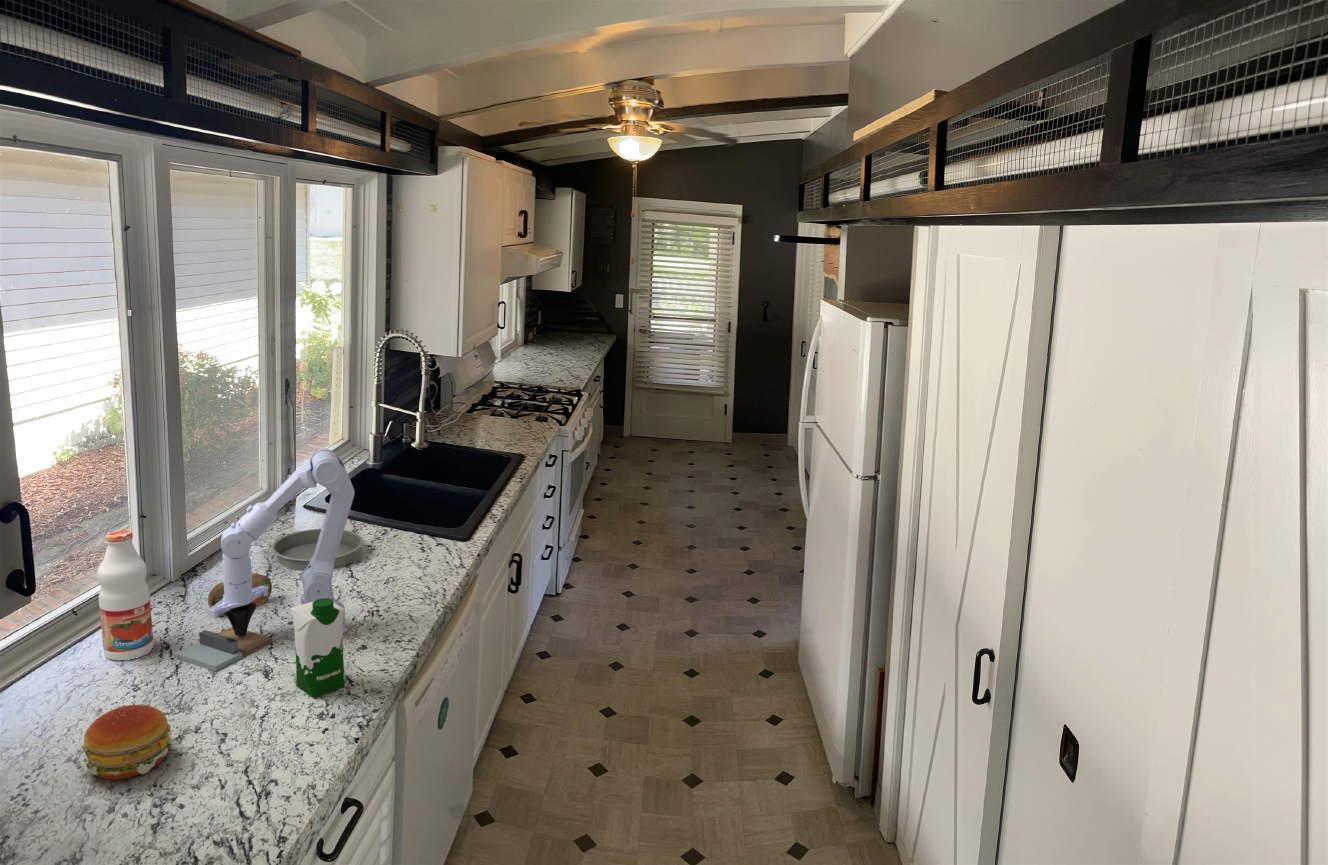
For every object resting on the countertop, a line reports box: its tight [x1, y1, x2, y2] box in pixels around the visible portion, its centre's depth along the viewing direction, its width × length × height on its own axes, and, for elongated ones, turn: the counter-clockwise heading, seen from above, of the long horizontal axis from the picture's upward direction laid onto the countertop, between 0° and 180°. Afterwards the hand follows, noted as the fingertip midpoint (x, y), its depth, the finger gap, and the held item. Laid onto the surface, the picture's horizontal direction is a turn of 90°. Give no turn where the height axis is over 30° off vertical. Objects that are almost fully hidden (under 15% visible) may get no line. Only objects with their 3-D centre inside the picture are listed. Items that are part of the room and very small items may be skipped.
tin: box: [207, 572, 273, 617], centre depth 211 cm, size 15×3×8 cm, turn 143°
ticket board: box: [218, 626, 273, 658], centre depth 195 cm, size 12×8×1 cm, turn 68°
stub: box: [174, 629, 244, 672], centre depth 188 cm, size 12×7×4 cm, turn 68°
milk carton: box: [290, 598, 345, 699], centre depth 178 cm, size 9×9×20 cm
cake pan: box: [271, 528, 364, 572], centre depth 246 cm, size 25×25×4 cm
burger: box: [81, 704, 173, 780], centre depth 151 cm, size 13×14×10 cm
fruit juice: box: [96, 529, 154, 660], centre depth 185 cm, size 9×9×28 cm
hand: (240, 634), depth 195 cm, fingers closed
